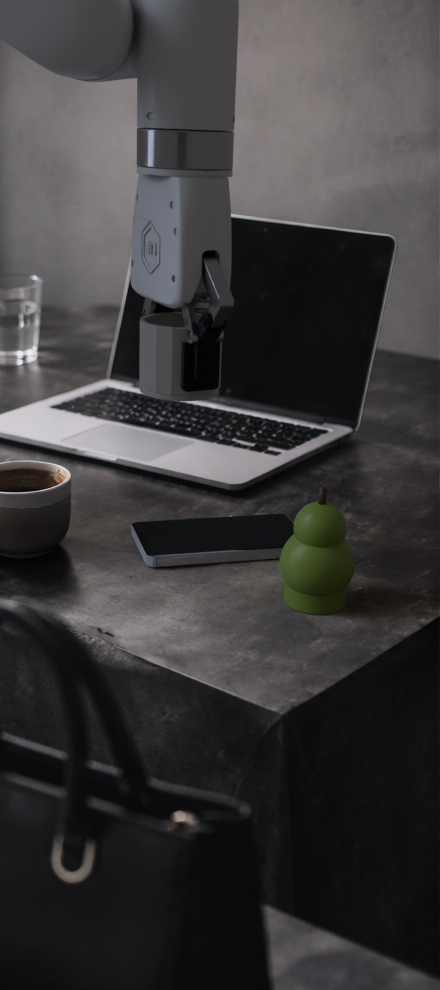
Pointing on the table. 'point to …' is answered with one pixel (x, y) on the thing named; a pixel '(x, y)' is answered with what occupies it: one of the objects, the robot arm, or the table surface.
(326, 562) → the pear
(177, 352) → the grey faceted cup
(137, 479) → the table surface
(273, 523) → the smartphone
